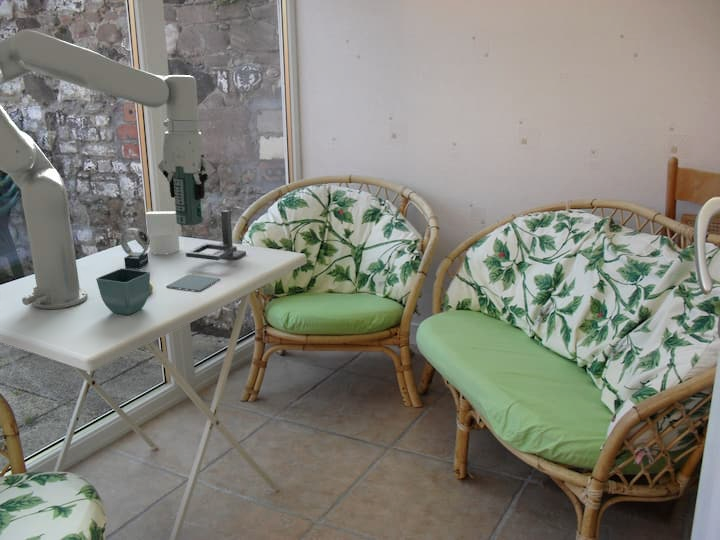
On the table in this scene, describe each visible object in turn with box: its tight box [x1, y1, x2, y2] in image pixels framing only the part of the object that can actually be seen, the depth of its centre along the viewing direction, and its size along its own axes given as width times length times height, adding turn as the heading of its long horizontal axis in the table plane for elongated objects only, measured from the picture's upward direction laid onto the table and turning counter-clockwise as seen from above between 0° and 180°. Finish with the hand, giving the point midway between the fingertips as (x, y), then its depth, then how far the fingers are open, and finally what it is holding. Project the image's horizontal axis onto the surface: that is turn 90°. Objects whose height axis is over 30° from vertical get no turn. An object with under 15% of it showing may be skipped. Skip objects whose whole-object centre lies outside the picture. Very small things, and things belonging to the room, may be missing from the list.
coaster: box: [166, 274, 221, 292], centre depth 175 cm, size 10×10×1 cm
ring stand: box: [185, 209, 247, 261], centre depth 192 cm, size 18×10×14 cm, turn 160°
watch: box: [119, 227, 150, 270], centre depth 188 cm, size 6×8×11 cm
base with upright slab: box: [145, 210, 180, 255], centre depth 203 cm, size 9×9×12 cm
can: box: [173, 166, 203, 226], centre depth 169 cm, size 6×6×15 cm
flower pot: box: [95, 268, 151, 316], centre depth 156 cm, size 9×9×9 cm
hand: (187, 197), depth 170 cm, fingers closed on can, 6 cm apart
